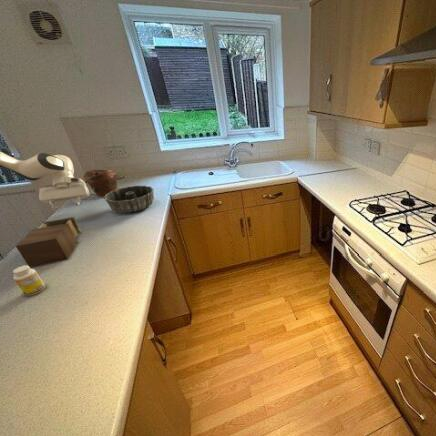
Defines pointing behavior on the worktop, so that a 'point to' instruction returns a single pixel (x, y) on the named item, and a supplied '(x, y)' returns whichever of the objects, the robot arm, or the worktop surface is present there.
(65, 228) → the brown box
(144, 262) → the worktop surface
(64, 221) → the drawer
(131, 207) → the bundt pan
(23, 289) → the supplement bottle
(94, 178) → the terracotta flower pot
